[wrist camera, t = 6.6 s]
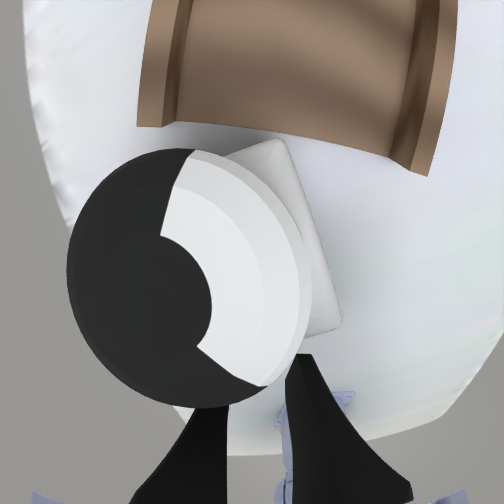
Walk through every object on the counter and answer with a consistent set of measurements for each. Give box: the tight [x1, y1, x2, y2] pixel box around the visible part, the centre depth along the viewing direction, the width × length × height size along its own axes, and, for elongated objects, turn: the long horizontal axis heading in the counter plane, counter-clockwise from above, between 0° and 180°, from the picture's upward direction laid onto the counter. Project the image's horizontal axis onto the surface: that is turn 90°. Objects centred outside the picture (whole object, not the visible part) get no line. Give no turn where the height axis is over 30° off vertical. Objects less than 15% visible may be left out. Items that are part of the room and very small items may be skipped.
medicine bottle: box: [66, 138, 342, 408], centre depth 11 cm, size 7×7×12 cm
